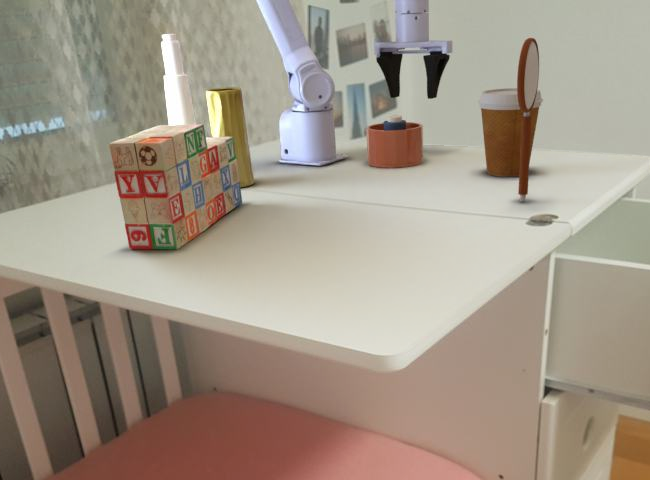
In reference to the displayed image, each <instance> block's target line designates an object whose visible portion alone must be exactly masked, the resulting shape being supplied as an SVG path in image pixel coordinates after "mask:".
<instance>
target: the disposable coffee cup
mask: <svg viewBox="0 0 650 480" xmlns="http://www.w3.org/2000/svg"><path fill="white" fill-rule="evenodd" d="M542 102H544V99H543V98H542V94H541V90H540V89H538V88H537V94H536V99H535V102H534V105H533V108H532V110H531V111H530V116H531V136H530V156H529V164H530V163H531V158H532V157H531V156H532V151H533V147H534V140H535V134H536V130H537V129H536V128H537V122H538V117H539V111H540V107H541V106H542ZM477 103H478V105H479V108H480V112H481V122H482V133H483V145H484V154H485V164H486V173H487V174H488V175H490V176H494V177H505V178H507V177H509V178H510V177H519V169H520V146H521V124H522V116H524V112H522V111H521V110H520V107H519V103H518V95H517V87H511V88H510V87H509V88H495V89H487V90H482V91H481V93H480V97H479V99H478V101H477Z"/></svg>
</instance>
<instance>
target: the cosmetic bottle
mask: <svg viewBox="0 0 650 480" xmlns="http://www.w3.org/2000/svg"><path fill="white" fill-rule="evenodd" d="M177 37H178V36H177V34H176V33H165V34H164V33H163V34H162V35H161V38H162V41H161V42H160V44H161V45H160V46H161V51H162V58H163V63H164V71H165V75H163V83H164V93H165V102H166V103H165V104H166V112H167V120H168V125H191V124H197V119H196V115H195V109H194V104H193V97H192V93H191V88H190V82H189V78H188V74H187V73H185V71H184V63H183V56H182V49H181V43H180V41H179V40H178V39H177Z"/></svg>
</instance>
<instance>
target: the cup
mask: <svg viewBox="0 0 650 480" xmlns="http://www.w3.org/2000/svg"><path fill="white" fill-rule="evenodd" d="M365 132H366V133H365V134H366V137H365V138H366V156H367V165H368V166H371V167H373V168H382V169H399V168H400V169H401V168H408V167H409V168H410V167H414V166H418V165H420V164H422V163H423V161H424V125H423V124H422V123H419V122H413V121H412V122H411V121H410V122H409V121H406V129H405V130H384V124H383V122H381V123H380V122H379V123H375V124H370V125H368V126H367V127H365Z"/></svg>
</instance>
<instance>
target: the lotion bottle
mask: <svg viewBox="0 0 650 480" xmlns="http://www.w3.org/2000/svg"><path fill="white" fill-rule="evenodd" d="M406 122H407V120H405V119H403V116H402V115H397V114H396V115H395V114H394V115H388V116H387V120H384V121H383V122H382V123H383V124H384V130H405V129H406Z"/></svg>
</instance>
